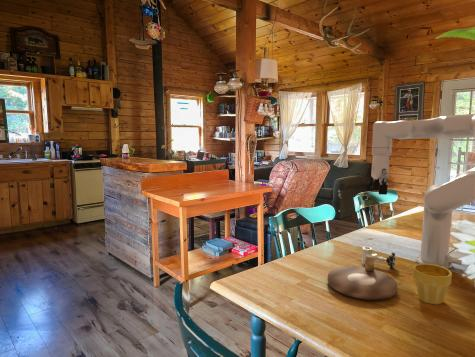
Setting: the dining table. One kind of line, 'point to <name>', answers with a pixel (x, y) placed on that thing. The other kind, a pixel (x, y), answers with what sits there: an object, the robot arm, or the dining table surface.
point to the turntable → (362, 281)
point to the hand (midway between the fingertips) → (379, 192)
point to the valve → (377, 257)
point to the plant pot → (432, 282)
